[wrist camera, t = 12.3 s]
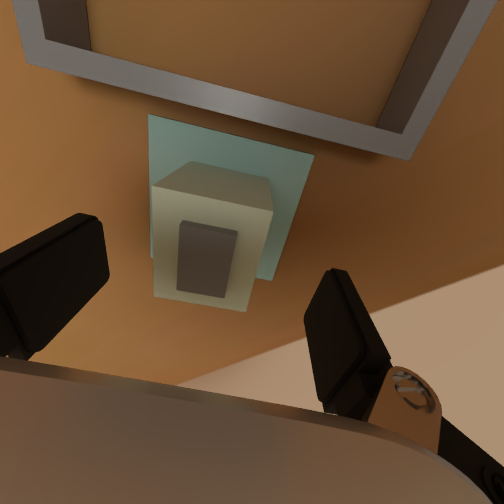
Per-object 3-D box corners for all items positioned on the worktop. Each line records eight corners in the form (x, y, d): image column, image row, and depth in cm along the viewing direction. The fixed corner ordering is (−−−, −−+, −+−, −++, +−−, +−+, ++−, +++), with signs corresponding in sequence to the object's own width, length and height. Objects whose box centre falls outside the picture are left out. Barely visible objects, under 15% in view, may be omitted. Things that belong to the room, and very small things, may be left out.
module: (268, 177, 14) (274, 216, 9) (249, 254, 18) (245, 319, 12) (190, 160, 14) (146, 189, 8) (185, 242, 17) (150, 303, 12)
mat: (313, 154, 14) (314, 155, 14) (271, 278, 19) (272, 280, 19) (150, 114, 13) (148, 114, 13) (152, 255, 18) (150, 257, 18)
